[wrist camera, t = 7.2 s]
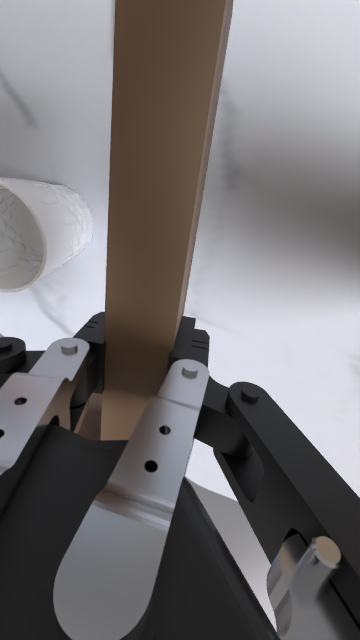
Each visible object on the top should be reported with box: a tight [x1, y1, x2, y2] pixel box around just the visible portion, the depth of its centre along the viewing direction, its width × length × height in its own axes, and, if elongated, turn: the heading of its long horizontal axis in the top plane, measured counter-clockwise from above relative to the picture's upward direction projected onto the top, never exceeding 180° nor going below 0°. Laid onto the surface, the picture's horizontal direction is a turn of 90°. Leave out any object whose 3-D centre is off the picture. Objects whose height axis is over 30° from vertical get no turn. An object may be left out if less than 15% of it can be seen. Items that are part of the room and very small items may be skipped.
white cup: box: [0, 177, 94, 292], centre depth 25 cm, size 8×8×10 cm
